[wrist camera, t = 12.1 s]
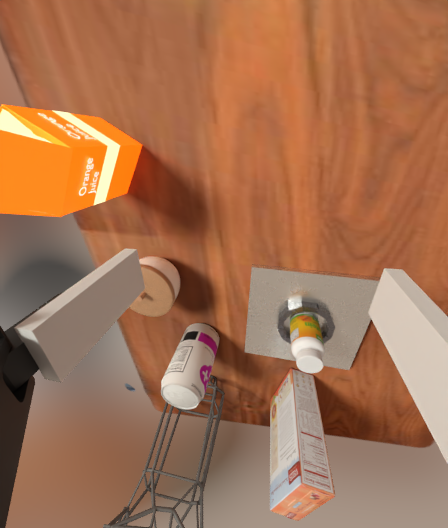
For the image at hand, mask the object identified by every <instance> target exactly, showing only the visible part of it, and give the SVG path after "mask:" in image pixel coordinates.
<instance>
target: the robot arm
mask: <svg viewBox="0 0 448 528" xmlns="http://www.w3.org/2000/svg"><path fill="white" fill-rule="evenodd" d="M144 289H145V284H144V280H143V275H142V271H141V266H140V262H139V257H138V253H137V249H124V250H122V251H121V252H120V253H118V254H117V255H115V256H114V257H113V258H111V259H110V260H108V261H107V262H106V263H104V264H103V265H101V266H100V267H99V268H97V269H96V270H94V271H93V272H92V273H90V274H89V275H87V276H86V277H85V278H83V279H82V280H80V281H79V282H77V283H76V284H75V285H73V286H72V287H70V288H69V289H68V290H66V291H64V292H62V293H60V294H58V295H56V296H55V297H53V298H52V299H51V300H49V301H48V302H47V303H45V304H43V305H42V306H40V307H39V309H36V310H35V311H33V312H32V313H30V314H29V315H28V316H26V317H25V318H23V319H22V320H21V321H19V322H18V323H17V324H15V325H14V326H12V327H11V328H9V329H8V330H6V331H5V332H4V331H3V329H2V328H1V326H0V528H5V526H6V521H7V516H8V511H9V506H10V501H11V496H12V492H13V487H14V482H15V477H16V473H17V467H18V463H19V458H20V453H21V448H22V443H23V439H24V433H25V429H26V424H27V419H28V414H29V409H30V405H31V400H32V395H33V390H34V385H35V379H34V377H33V375H34V374H35V373H36V372H37V371H38V370H40V371H41V373H42V374H43V376H44V378H45V379H48V380H52V381H57V382H62V381H63V380H64V379H65V378H66V377H67V376H68V374H69V373H70V372H71V371H72V370H73V369H74V368H75V367H76V365H77V364H78V363H79V362H80V361H81V360H82V359H83V358H84V356H85V355H86V354H87V353H88V352H89V351H90V350H91V349H92V347H93V346H94V345H95V344H96V343H97V342H98V341H99V340H100V338H101V337H102V336H103V335H104V334H105V333H106V332H107V331H108V330H109V328H110V327H111V326H112V325H113V324H114V323H115V322H116V321H117V319H118V318H119V317H120V316H121V315H122V314H123V313H124V312H125V311H126V309H127V308H128V307H129V306H130V305H131V304H132V303H133V302H134V300H135V299H136V298H137V297H138V296H139V295H140V294H141V293H142V291H143V290H144ZM368 314H369V316H370V317H371V319H372V321H373V323H374V325H375V327H376V329H377V331H378V333H379V335H380V336H381V338H382V340H383V342H384V344H385V346H386V348H387V350H388V352H389V354H390V356H391V357H392V359H393V361H394V363H395V365H396V367H397V369H398V371H399V373H400V375H401V377H402V378H403V380H404V382H405V384H406V386H407V388H408V390H409V392H410V394H411V396H412V397H413V399H414V401H415V403H416V405H417V407H418V409H419V411H420V413H421V415H422V417H423V418H424V420H425V422H426V424H427V426H428V428H429V430H430V432H431V434H432V436H433V438H434V439H435V441H436V443H437V445H438V447H439V449H440V451H441V453H442V455H443V456H444V458H445V460H446V462H447V464H448V317H447V316H446V315H445V313H444V312H443V311H442V310H441V309H440V308H439V307H438V306H437V305H436V304H435V303H434V302H433V301H432V300H431V299H430V298H429V297H428V296H427V295H426V294H425V293H424V292H423V291H422V290H421V289H420V288H419V287H418V285H417V284H416V283H415V282H414V281H413V280H412V279H411V278H410V277H409V276H408V275H407V274H406V273H405V272H404V271H403V270H400V269H387V268H384V271H383V273H382V276H381V279H380V282H379V284H378V287H377V290H376V293H375V295H374V298H373V301H372V304H371V306H370V309H369V312H368Z"/></svg>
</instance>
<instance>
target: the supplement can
mask: <svg viewBox="0 0 448 528" xmlns="http://www.w3.org/2000/svg"><path fill="white" fill-rule="evenodd" d="M218 345H219V336H218V333H217V332H216V331H215V330H214V329H213V328H212V327H210V326H209V325H206V324H202V323H196V324H191V325H190V326H188V327H187V329H186V331H185V333H184V335H183V337H182V339H181V341H180V343H179V345H178V347H177V350H176V352H175V354H174V356H173V358H172V360H171V362H170V364H169V366H168V369H167V371H166V373H165V375H164V377H163V379H162V381H161V383H162V389H161V395H162V397H163V399H164V400H165V401H167V402H168V403H169V404H171V405H172V406H174V407H177V408H180V409H193V408H196V407H197V405H198V404H199V402H200V401H201V400H202V399H203V398H204V395H205V392H206V388H207V385H208V381H209V377H210V374H211V370H212V367H213V363H214V359H215V356H216V352H217V349H218Z"/></svg>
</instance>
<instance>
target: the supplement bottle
mask: <svg viewBox="0 0 448 528" xmlns="http://www.w3.org/2000/svg"><path fill="white" fill-rule="evenodd" d="M290 338H291V351H292V354H293V355H294V357H295V358H296V363H297V367H298V368H299V369H300V370H301V371H303V372H306V373H316V372H319V371H320V370H322V368H323V360H322V358H323V356H324V354H325V347H324V343H323V339H322V334H321V329H320V324H319V321H318V319H317V318H316V317H315V316H314V315H313V314H310V313H306V312H302V313H297V314H295V315H294V316H293V317H292V318H291V320H290Z"/></svg>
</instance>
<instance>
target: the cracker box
mask: <svg viewBox="0 0 448 528" xmlns="http://www.w3.org/2000/svg"><path fill="white" fill-rule="evenodd" d="M333 497H335V491H334V486H333V480H332V475H331V469H330V464H329V458H328V452H327V447H326V441H325V436H324V430H323V425H322V419H321V414H320V408H319V402H318V397H317V391H316V386H315V380H314V376H313V375H311V374H308V373H305V372H302V371H299V370H296V369H293V368H290V370H289V372H288V373H287V375H286V376H285V378H284V379H283V381H282V383H281V384H280V386H279V387H278V389H277V390H276V392H275V394H274V395H273V397H272V398H271V412H270V511H272V512H275V513H278V514H281V515H284V516H286V517H288V518H290V519H293V520H298V521H299V520H300V519H301V518H303V517H305V516H306V515H308V514H309V513H311V512H312V511H314V510H315V509H317V508H318V507H320V506H321V505H323V504H324V503H326V502H327V501H329V500H330V499H332V498H333Z"/></svg>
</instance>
